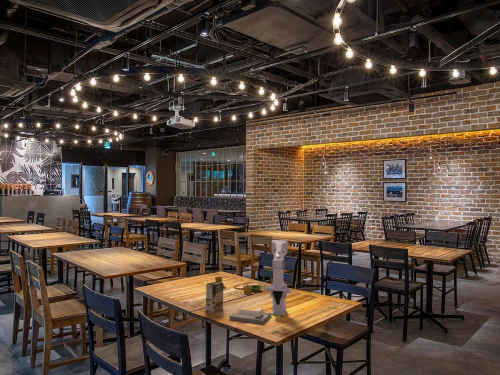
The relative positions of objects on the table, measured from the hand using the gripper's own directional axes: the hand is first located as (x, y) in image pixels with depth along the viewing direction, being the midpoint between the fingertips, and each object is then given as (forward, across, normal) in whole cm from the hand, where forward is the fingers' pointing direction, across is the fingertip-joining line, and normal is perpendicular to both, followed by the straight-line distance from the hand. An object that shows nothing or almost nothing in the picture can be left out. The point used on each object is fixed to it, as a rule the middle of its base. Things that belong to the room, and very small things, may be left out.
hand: (277, 304), depth 218 cm
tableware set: (+10, -53, +56) cm, 78 cm away
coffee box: (+10, -42, +5) cm, 43 cm away
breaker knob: (+7, -11, -1) cm, 13 cm away
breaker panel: (+9, -16, -1) cm, 19 cm away
